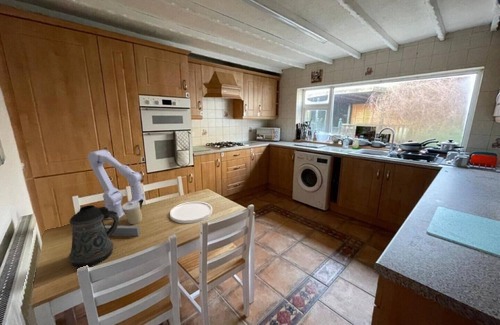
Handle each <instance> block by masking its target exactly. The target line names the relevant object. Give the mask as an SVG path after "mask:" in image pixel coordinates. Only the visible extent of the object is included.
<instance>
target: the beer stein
mask: <svg viewBox="0 0 500 325" xmlns="http://www.w3.org/2000/svg"><path fill="white" fill-rule="evenodd" d="M109 217H110V218H113V219H112V220H113V222H112V225H110V226H111V228H110V229H109V230H108V232H106V228H105V226H106V224H105V223H104V220H107V219H106V218H109ZM119 224H120V218H119V216H118V214H117V213H116V212H114V211H109V210H108V208H106V207H104V206H100V207H98V206H95V205H93V204H92V205H85V206H84V205H83V206H82V207H80V208H79V210H78V211H77V212H76V213H75V214H74V215H72V216H71V218H70V219H69V225H70V226H71V227H72V228H71V230H72V231H71V248H70V253H69V256H68V257H69V258H68V259H69V261H70V263H71V265H72V267H73V268H76V267H77V268H78V269H80V268H79V267H83V266H86V265H88V266H89V267H88V268H92V267H93V266H92V265H94V266H97V265H99V264H101V263H102V261H103V262H104V261H106V260H108V259H109V257H111V255H113V251H114V243H113V242H112V240H111V239H110V237H112V236H111V235H112V234H113V233H114V231H115V230H116V228H117V226H119ZM100 262H101V263H100ZM77 268H76V269H77Z"/></svg>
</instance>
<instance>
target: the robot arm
mask: <svg viewBox="0 0 500 325" xmlns="http://www.w3.org/2000/svg"><path fill="white" fill-rule="evenodd" d="M86 158H87V160H88V161H89V162H88V163H89V164H90V167H91V169H92V171H93V173H94V175H95V177H96V178H97V180H98V182H99V185H100V186H101V187H102V189H103V191H104V192H103V195H102V198H103V202H104V205H103V207H106V208H108V210H109V211H114V212H116V213H117V214H118V216H119V219H121V217H123V216H124V215H125V213H124V211H123V210H122V206H123V205H122V200H123V198H124V195H123V193H122V192H121V191H120V190H119V189H118V188H116V187H115V186H114V185H113V183H112V181H111V179H110V177H109V175H108V174H107V171H106V169H105V168H104V163H108V164H109V165H110V166H112V167H114V168H116V169H117V171H118V173H119V174H120V175H122V176H123V177H125V178H126V181H127V182H128V184H129V186H130V192H131V193H130V194H131V199H130V201H131V202H130V203H129V205H133V204H134V203H135V202H136V201H138V202H139V203H140V209H141V210H142V206H143V202H144V199H145V193H142V191H143V190H142V185H141V180H142V179H143V175H142V173H141V172H140V171H134V170H133V169H132V168H131V167H129V165H125V164H122V163H120V161H118V160H117V159H116V158H115V157H113V156H112V153H111V152H109V150H108V149H103V148H102V149H100V150H99V149H98V150H96V151H95V150H94V151H91V152H89V153H88V156H87V157H86ZM132 200H136V201H132ZM105 220H113V218H110V217H109V218H106V219H105Z"/></svg>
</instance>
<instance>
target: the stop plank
mask: <svg viewBox="0 0 500 325" xmlns="http://www.w3.org/2000/svg"><path fill="white" fill-rule="evenodd" d="M111 226H112V225H105V228H106V232H108V230H109V229H110V228H111ZM140 234H141V228H140V226H139V225H118V226H117V228H116V230H115V231H114V233H113V234H112V235H111V236H110V237H139V236H140Z"/></svg>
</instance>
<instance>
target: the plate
mask: <svg viewBox="0 0 500 325" xmlns="http://www.w3.org/2000/svg"><path fill="white" fill-rule="evenodd" d="M212 213H213V207H212V205H211V204H209V203H207V202H205V201H199V200H198V201H194V200H193V201H187V202H182V203H180V204H179V203H178V205H175V206H174V207H172V208H171V209H170V211H169V217H170V219H171V220H172V221H173V222H176V223H178V224H194V223H199V222H201V220H202V221H204V220H206V219H208V218H209V217H211V216H212Z"/></svg>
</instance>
